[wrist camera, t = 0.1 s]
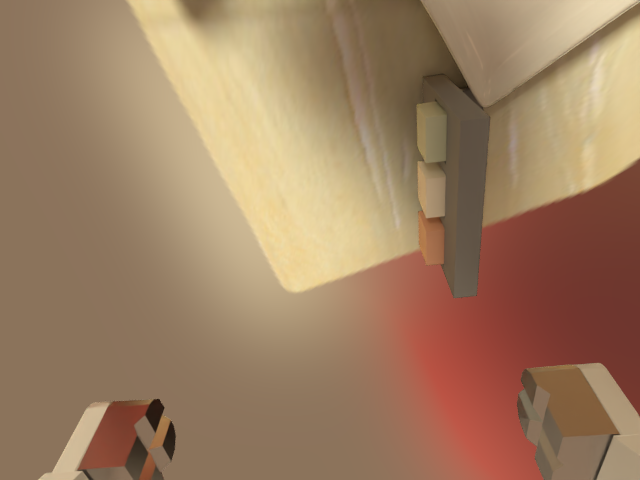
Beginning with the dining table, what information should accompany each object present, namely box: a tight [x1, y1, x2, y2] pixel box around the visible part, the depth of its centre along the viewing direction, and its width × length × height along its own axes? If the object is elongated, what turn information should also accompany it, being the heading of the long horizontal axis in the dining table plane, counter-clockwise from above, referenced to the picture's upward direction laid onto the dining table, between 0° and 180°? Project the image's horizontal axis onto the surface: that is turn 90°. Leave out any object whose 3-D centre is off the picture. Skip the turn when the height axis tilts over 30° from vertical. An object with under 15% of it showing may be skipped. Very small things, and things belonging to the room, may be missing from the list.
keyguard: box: [423, 74, 490, 298], centre depth 50 cm, size 20×7×17 cm, turn 8°
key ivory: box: [418, 161, 446, 218], centre depth 49 cm, size 5×4×5 cm
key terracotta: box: [418, 211, 445, 266], centre depth 53 cm, size 5×4×5 cm
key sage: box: [417, 101, 447, 163], centre depth 46 cm, size 5×4×5 cm
